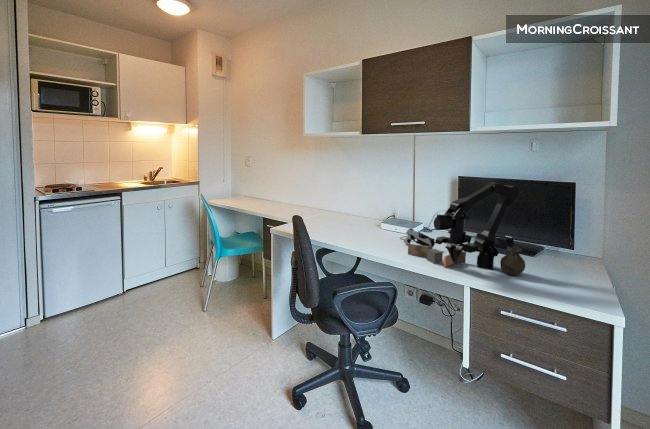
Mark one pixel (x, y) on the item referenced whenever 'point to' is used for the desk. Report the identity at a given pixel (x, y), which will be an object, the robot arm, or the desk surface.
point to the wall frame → (422, 251)
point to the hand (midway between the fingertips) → (454, 262)
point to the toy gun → (418, 238)
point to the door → (447, 260)
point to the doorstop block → (434, 256)
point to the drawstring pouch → (513, 261)
